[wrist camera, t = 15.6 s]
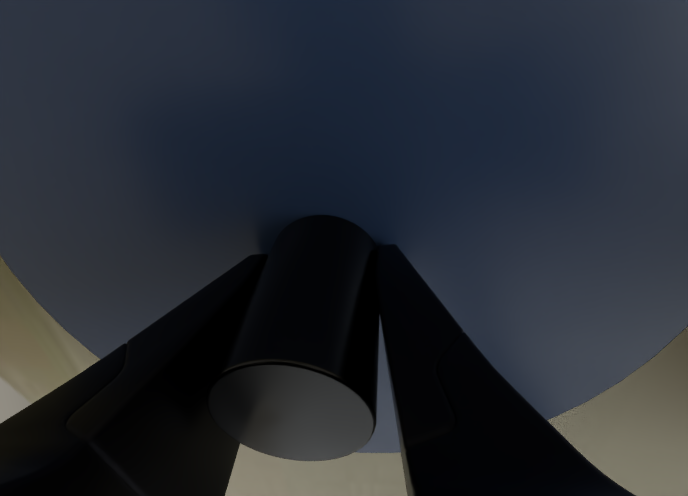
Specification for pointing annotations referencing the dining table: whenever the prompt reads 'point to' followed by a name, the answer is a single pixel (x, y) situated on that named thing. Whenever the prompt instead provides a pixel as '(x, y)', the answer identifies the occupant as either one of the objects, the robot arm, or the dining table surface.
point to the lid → (353, 188)
